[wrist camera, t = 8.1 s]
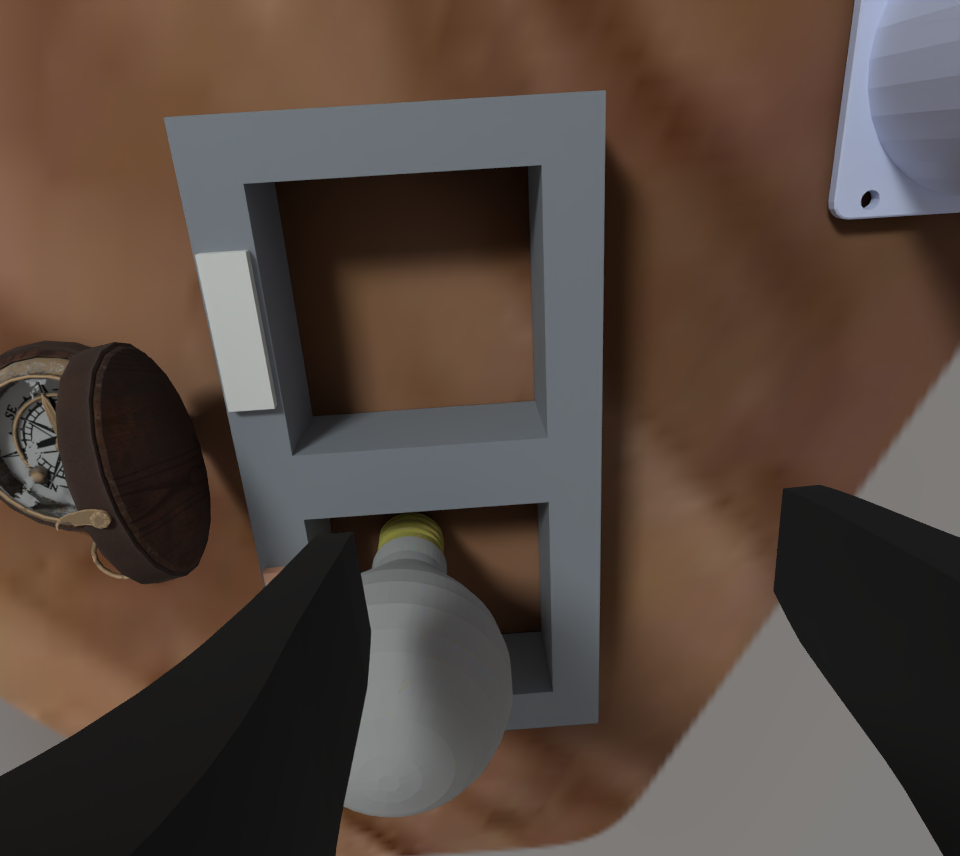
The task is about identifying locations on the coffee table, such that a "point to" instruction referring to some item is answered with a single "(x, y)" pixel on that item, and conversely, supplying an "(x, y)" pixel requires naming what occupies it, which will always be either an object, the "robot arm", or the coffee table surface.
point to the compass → (104, 455)
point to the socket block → (432, 431)
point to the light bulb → (425, 679)
